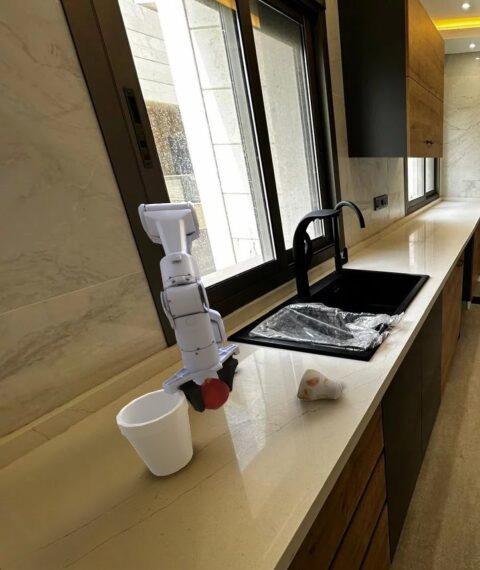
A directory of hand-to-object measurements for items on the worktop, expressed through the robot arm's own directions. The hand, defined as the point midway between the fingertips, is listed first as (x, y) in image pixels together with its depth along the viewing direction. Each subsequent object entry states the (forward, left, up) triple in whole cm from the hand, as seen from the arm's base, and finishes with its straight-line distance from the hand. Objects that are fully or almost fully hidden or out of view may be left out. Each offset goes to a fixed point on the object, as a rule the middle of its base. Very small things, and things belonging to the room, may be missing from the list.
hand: (214, 400), depth 68 cm
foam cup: (0, -10, -6) cm, 12 cm away
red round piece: (0, 0, -2) cm, 2 cm away
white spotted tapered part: (+15, +15, -6) cm, 22 cm away
